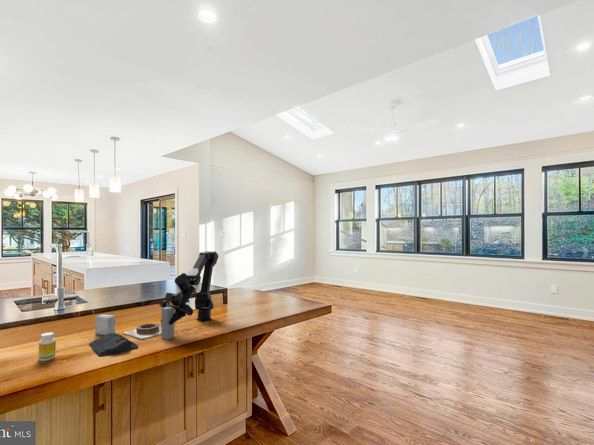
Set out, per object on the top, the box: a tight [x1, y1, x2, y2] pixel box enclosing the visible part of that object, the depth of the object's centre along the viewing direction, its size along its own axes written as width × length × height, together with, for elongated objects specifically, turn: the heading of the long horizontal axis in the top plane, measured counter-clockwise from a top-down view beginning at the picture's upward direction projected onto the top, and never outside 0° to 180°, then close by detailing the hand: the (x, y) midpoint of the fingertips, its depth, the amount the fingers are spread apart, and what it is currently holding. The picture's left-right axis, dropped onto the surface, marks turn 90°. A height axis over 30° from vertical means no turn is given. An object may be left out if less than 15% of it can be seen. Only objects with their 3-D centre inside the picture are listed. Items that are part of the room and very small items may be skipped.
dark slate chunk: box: [88, 333, 139, 358], centre depth 142 cm, size 15×22×5 cm
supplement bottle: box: [37, 332, 57, 362], centre depth 128 cm, size 5×5×10 cm
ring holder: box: [122, 322, 161, 341], centre depth 161 cm, size 16×16×3 cm
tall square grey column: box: [160, 307, 175, 341], centre depth 154 cm, size 4×4×14 cm
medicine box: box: [94, 314, 116, 336], centre depth 159 cm, size 8×4×9 cm, turn 74°
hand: (165, 323), depth 152 cm, fingers open, 5 cm apart
